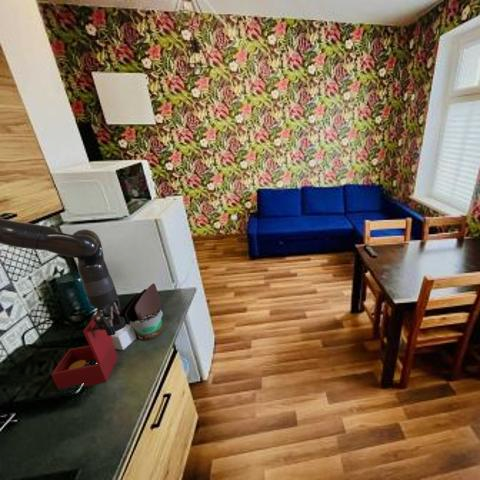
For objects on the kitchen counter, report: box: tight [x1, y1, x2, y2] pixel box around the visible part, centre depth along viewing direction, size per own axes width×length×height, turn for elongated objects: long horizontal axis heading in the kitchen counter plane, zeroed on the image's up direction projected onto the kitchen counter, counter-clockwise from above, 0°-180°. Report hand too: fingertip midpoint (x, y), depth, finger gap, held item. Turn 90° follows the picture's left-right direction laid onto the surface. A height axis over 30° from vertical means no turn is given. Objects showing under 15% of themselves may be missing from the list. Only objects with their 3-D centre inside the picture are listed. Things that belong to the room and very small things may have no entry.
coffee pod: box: [69, 360, 87, 369], centre depth 96 cm, size 5×5×4 cm
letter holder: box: [119, 282, 162, 331], centre depth 124 cm, size 10×20×14 cm, turn 8°
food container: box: [130, 307, 164, 341], centre depth 114 cm, size 12×6×10 cm, turn 137°
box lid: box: [82, 311, 113, 364], centre depth 94 cm, size 14×12×5 cm
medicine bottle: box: [111, 317, 138, 351], centre depth 110 cm, size 7×7×12 cm
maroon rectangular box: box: [50, 342, 119, 390], centre depth 97 cm, size 14×12×8 cm
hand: (114, 329), depth 95 cm, fingers closed on box lid, 5 cm apart
